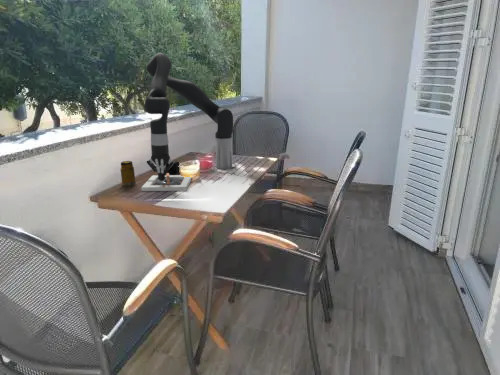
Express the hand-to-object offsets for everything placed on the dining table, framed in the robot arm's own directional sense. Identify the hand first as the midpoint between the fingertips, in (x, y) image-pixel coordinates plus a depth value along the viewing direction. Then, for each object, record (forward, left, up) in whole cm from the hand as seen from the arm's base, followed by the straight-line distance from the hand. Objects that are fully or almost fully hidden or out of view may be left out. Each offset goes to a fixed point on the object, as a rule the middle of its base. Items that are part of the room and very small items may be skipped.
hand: (161, 180), depth 163 cm
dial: (-2, -6, -4) cm, 7 cm away
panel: (-2, -6, -4) cm, 7 cm away
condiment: (+16, -6, -5) cm, 18 cm away
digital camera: (+3, -26, -5) cm, 27 cm away
